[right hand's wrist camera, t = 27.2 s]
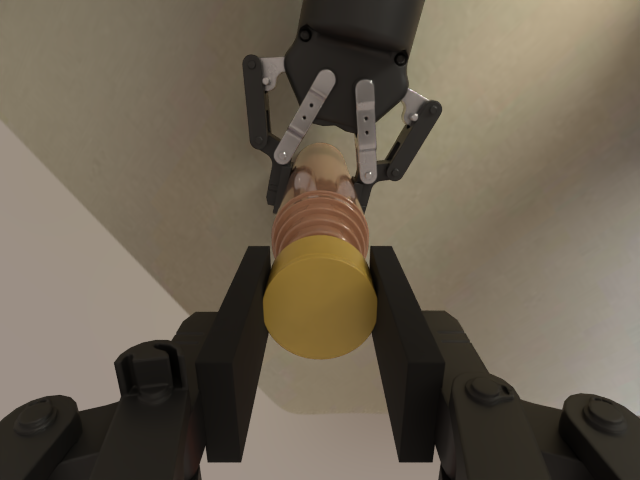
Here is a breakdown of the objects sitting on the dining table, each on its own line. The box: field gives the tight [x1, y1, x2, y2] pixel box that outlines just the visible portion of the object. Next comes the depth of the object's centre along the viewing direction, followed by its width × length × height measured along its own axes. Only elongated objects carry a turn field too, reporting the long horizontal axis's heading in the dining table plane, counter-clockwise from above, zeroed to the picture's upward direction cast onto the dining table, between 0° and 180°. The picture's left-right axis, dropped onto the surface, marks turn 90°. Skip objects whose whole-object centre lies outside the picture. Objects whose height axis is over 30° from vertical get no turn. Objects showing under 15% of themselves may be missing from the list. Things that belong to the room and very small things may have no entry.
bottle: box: [271, 143, 369, 259], centre depth 25 cm, size 5×5×24 cm
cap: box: [263, 235, 377, 359], centre depth 14 cm, size 4×4×2 cm
